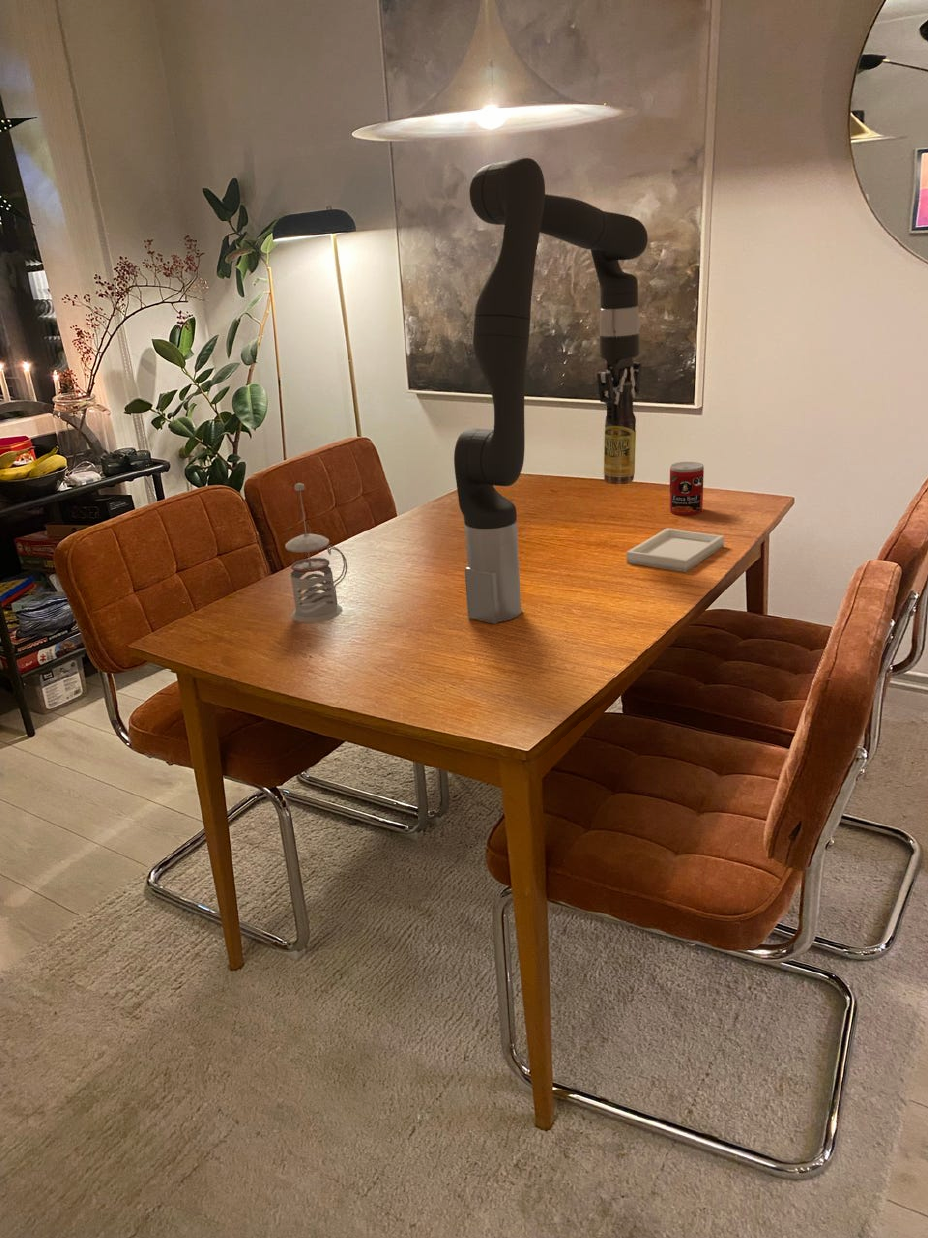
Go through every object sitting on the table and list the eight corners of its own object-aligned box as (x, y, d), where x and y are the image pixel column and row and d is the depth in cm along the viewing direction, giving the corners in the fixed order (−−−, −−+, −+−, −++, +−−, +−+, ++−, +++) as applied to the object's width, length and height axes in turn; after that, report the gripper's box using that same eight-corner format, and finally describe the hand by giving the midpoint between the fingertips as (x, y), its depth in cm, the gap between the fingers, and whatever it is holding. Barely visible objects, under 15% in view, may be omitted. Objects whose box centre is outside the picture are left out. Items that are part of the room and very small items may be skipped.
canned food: (667, 515, 218) (668, 469, 214) (670, 506, 225) (671, 461, 221) (701, 516, 216) (702, 469, 212) (703, 506, 223) (704, 461, 219)
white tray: (685, 572, 182) (686, 561, 181) (626, 562, 189) (626, 551, 189) (723, 546, 195) (724, 535, 194) (666, 538, 202) (666, 528, 201)
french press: (286, 609, 178) (266, 481, 169) (345, 597, 182) (329, 472, 172) (296, 626, 170) (276, 492, 160) (357, 614, 173) (341, 482, 164)
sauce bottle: (599, 484, 189) (597, 385, 181) (609, 477, 194) (607, 379, 186) (631, 486, 186) (630, 385, 178) (640, 478, 191) (639, 379, 183)
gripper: (619, 336, 171) (620, 428, 178) (653, 327, 182) (653, 414, 188) (583, 336, 175) (585, 426, 182) (619, 327, 186) (620, 412, 192)
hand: (620, 419), depth 185 cm, fingers closed on sauce bottle, 5 cm apart
